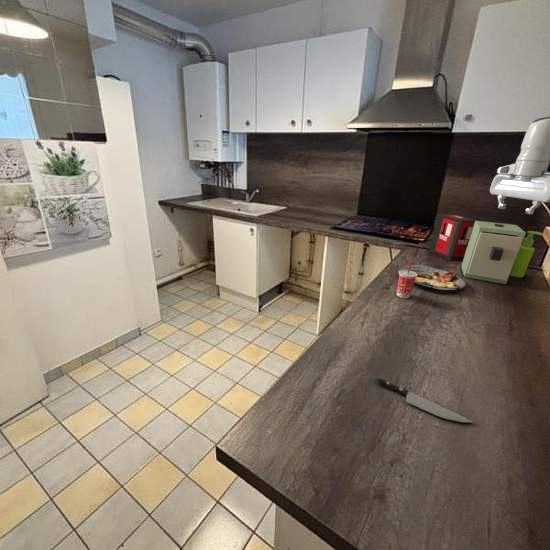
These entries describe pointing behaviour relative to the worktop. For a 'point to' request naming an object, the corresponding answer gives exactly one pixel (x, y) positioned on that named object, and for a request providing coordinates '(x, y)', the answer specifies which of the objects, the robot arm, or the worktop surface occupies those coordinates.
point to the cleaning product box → (451, 236)
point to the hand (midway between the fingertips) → (514, 211)
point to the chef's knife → (426, 404)
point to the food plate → (436, 278)
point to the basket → (494, 255)
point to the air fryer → (492, 229)
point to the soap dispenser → (524, 255)
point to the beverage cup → (406, 282)
